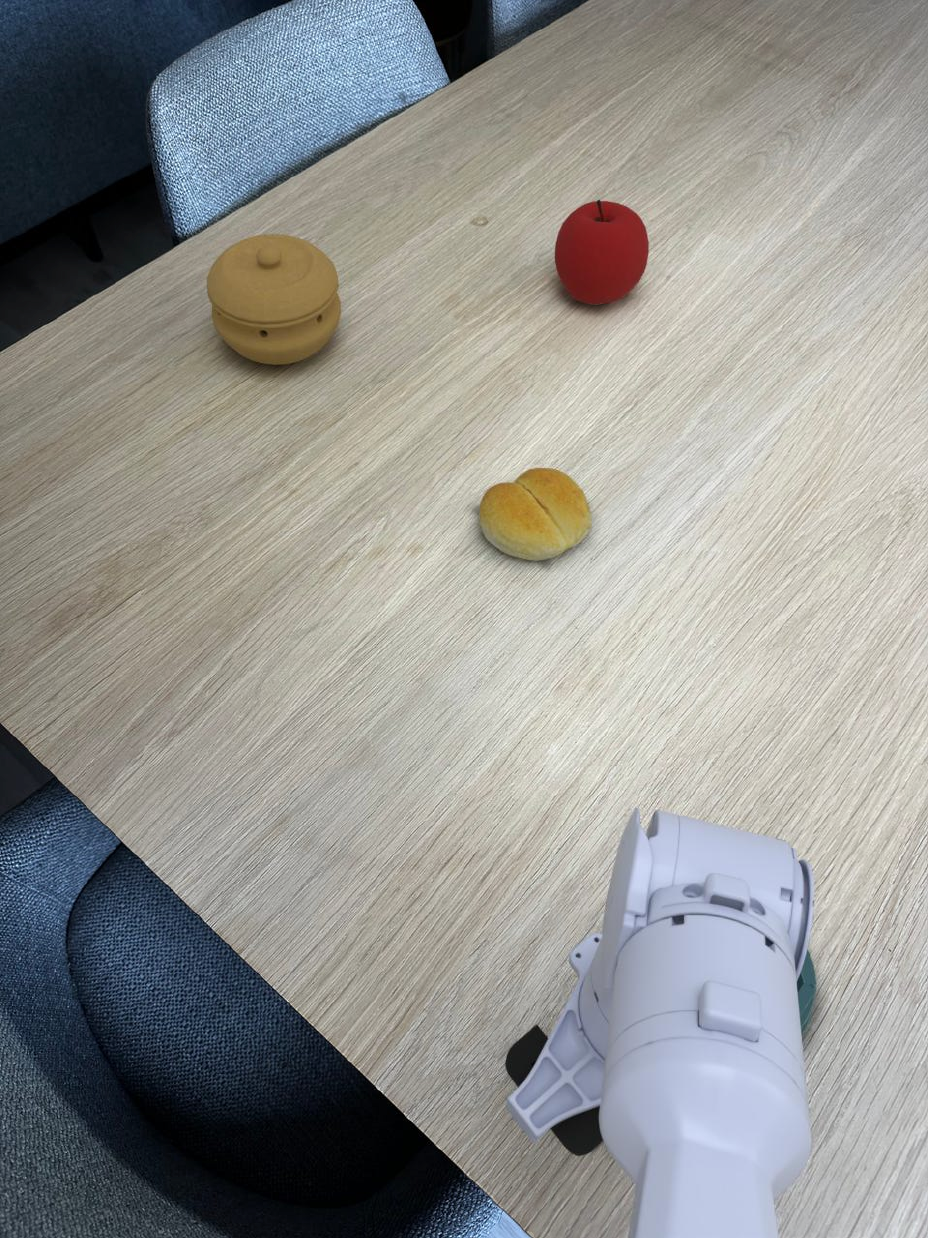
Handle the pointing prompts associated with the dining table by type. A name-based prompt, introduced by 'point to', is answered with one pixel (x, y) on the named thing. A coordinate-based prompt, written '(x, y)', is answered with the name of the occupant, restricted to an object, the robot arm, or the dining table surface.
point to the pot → (274, 298)
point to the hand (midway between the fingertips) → (612, 1056)
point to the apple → (601, 252)
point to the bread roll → (535, 514)
